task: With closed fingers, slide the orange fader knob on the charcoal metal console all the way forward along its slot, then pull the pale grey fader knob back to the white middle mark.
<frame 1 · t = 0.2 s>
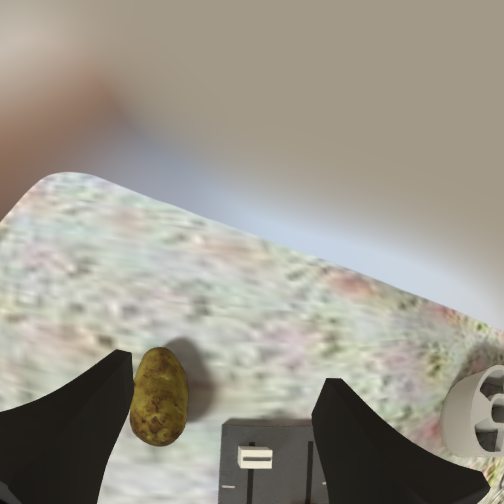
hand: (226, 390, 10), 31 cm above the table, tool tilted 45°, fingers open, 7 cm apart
grey compartment organizer: (482, 419, 38), on the table
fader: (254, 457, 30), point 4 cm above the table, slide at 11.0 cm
console: (277, 484, 31), on the table
potato: (165, 397, 36), on the table
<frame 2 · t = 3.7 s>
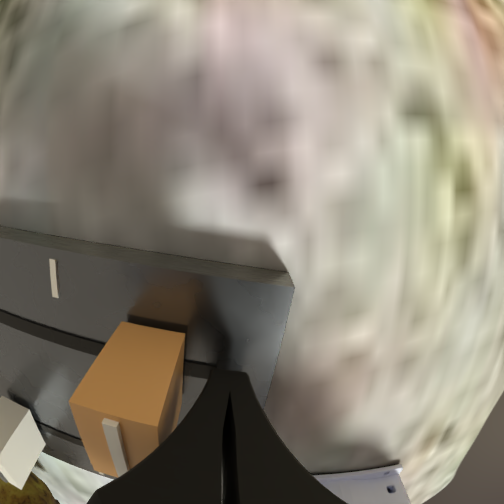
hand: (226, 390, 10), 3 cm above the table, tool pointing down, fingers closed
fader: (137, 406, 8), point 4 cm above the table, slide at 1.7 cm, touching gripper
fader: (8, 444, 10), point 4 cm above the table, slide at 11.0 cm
console: (87, 384, 13), on the table
potato: (19, 456, 17), on the table
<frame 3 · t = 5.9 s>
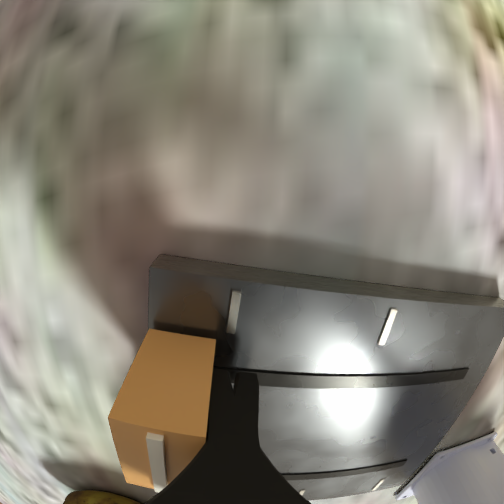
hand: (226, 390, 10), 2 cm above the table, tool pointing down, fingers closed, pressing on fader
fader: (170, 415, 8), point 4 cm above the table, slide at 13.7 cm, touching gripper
console: (328, 417, 14), on the table
potato: (136, 503, 18), on the table
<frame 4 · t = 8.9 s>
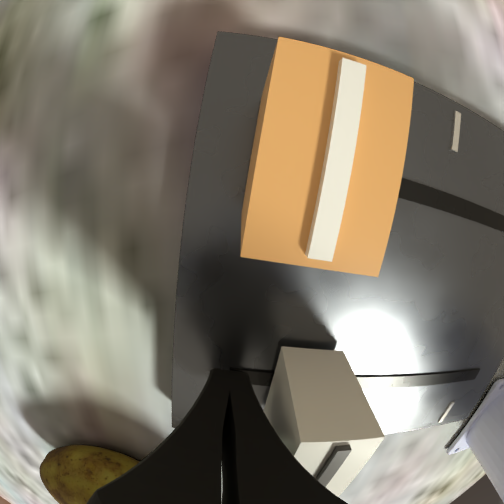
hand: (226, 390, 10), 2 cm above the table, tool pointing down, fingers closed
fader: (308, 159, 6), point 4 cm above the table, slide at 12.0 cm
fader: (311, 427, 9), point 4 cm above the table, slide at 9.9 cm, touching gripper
console: (400, 287, 12), on the table
potato: (135, 465, 15), on the table
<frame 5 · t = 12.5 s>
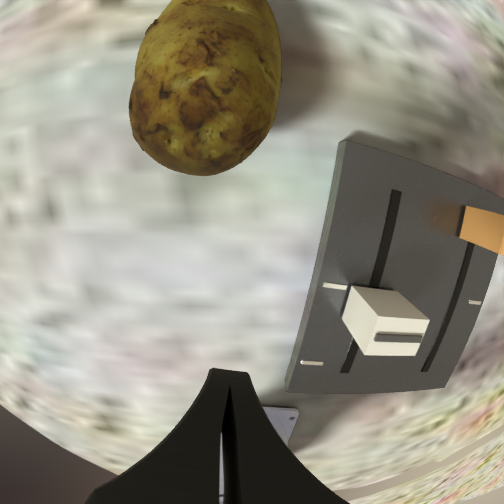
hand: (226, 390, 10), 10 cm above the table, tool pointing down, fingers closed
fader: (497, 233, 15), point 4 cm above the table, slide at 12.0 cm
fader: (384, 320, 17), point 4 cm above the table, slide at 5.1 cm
console: (408, 288, 21), on the table
potato: (222, 76, 17), on the table
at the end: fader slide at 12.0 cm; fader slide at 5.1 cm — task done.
